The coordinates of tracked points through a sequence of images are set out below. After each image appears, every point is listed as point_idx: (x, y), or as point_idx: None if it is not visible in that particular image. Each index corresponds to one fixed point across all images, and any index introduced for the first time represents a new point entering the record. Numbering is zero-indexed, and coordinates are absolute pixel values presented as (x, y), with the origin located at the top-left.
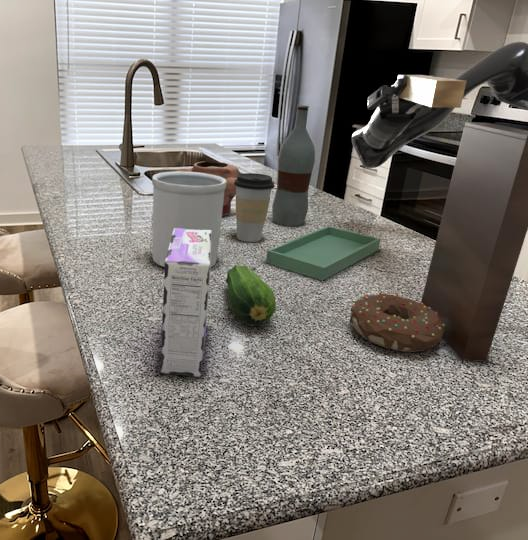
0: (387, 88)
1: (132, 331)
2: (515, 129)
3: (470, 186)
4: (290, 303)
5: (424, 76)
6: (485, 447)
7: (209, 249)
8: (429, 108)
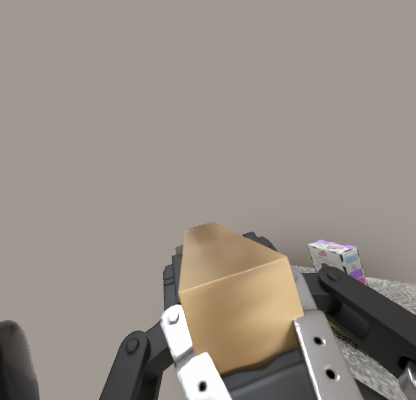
0: (314, 276)
1: (380, 292)
2: (180, 252)
3: None
4: (353, 373)
5: (203, 245)
6: None
7: (318, 248)
8: None
